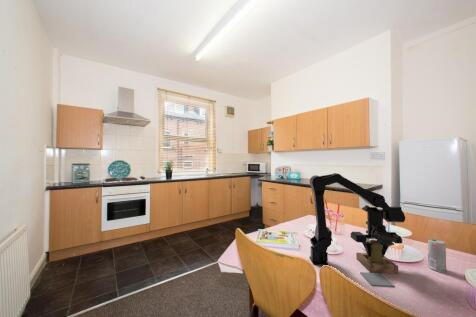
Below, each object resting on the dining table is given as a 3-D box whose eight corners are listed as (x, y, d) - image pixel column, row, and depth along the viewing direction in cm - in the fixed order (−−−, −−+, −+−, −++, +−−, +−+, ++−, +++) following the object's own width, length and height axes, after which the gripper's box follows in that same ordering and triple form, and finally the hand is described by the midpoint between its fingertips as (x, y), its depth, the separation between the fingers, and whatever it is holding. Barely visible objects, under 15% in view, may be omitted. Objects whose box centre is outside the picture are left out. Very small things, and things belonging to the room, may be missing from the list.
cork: (387, 270, 82) (387, 244, 82) (371, 268, 83) (371, 243, 83) (380, 262, 88) (379, 238, 88) (365, 261, 89) (364, 237, 89)
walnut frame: (370, 272, 80) (370, 265, 80) (356, 258, 91) (356, 252, 91) (398, 273, 79) (398, 266, 79) (381, 259, 90) (381, 253, 90)
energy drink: (441, 267, 84) (440, 239, 84) (449, 273, 79) (449, 244, 79) (425, 264, 85) (425, 237, 86) (433, 271, 80) (432, 242, 81)
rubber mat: (371, 285, 72) (371, 284, 72) (360, 273, 80) (360, 272, 80) (394, 287, 71) (394, 285, 71) (380, 274, 79) (380, 272, 79)
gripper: (363, 227, 78) (363, 265, 78) (412, 228, 77) (413, 267, 76) (349, 218, 89) (350, 252, 89) (392, 219, 88) (393, 254, 88)
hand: (375, 256), depth 85 cm, fingers open, 5 cm apart
